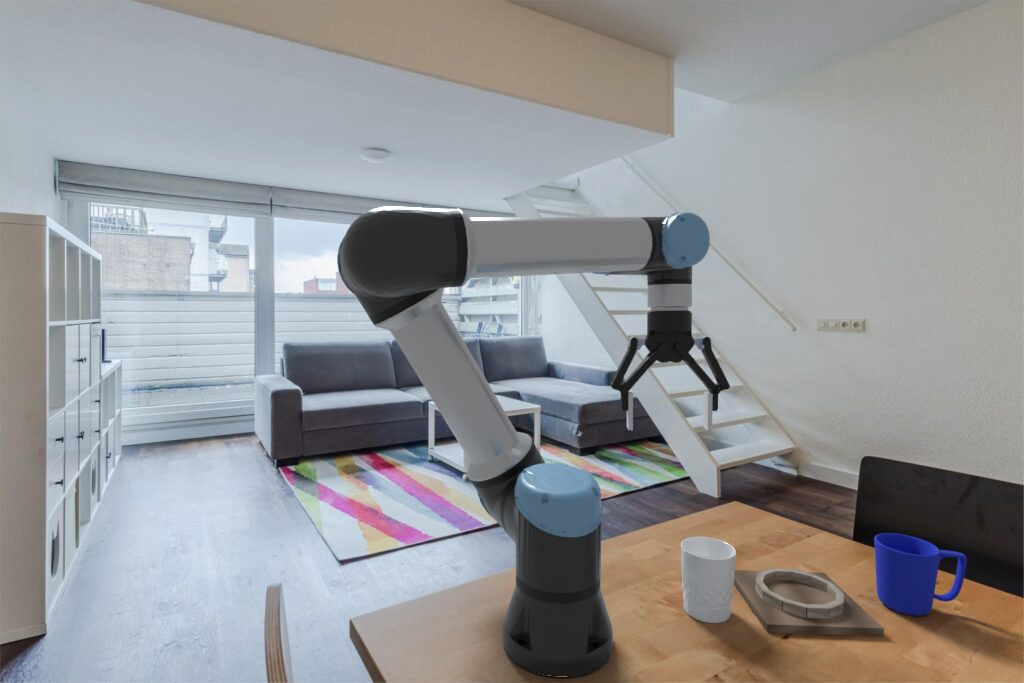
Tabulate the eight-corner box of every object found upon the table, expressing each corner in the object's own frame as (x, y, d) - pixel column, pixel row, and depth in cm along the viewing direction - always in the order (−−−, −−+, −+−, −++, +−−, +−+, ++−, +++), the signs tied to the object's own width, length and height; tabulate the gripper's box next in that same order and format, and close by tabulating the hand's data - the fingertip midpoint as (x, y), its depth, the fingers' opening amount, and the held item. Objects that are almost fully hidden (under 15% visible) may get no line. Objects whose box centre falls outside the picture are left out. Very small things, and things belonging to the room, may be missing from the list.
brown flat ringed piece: (767, 632, 76) (767, 614, 76) (728, 576, 92) (728, 561, 92) (883, 636, 75) (884, 618, 75) (823, 579, 91) (824, 564, 91)
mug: (980, 628, 77) (983, 561, 77) (886, 618, 80) (889, 553, 79) (946, 598, 85) (949, 537, 85) (862, 590, 88) (865, 530, 87)
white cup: (738, 606, 82) (740, 544, 82) (728, 632, 76) (730, 564, 75) (686, 592, 87) (688, 532, 86) (673, 615, 80) (674, 550, 80)
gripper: (735, 308, 96) (733, 424, 97) (596, 310, 98) (596, 423, 99) (750, 308, 88) (748, 434, 90) (599, 310, 91) (599, 433, 92)
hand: (668, 429), depth 95 cm, fingers open, 13 cm apart
